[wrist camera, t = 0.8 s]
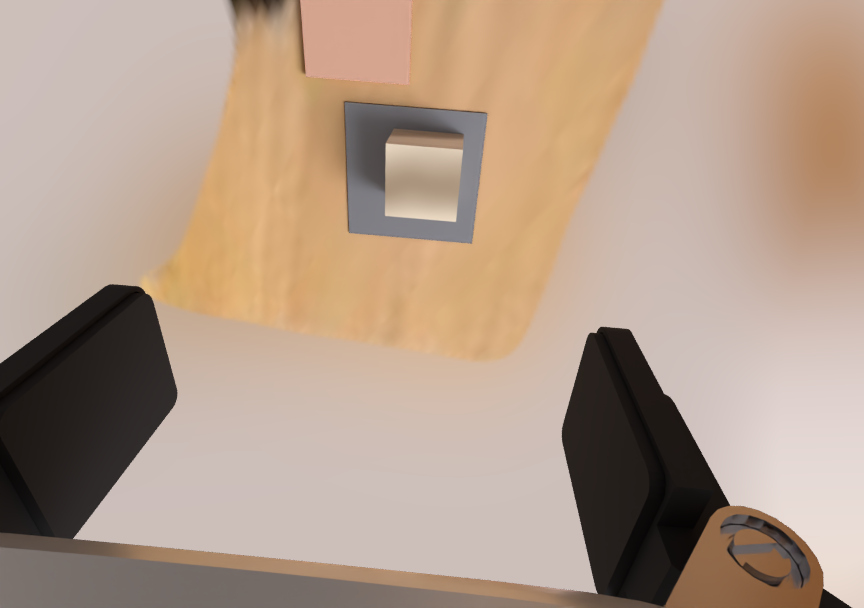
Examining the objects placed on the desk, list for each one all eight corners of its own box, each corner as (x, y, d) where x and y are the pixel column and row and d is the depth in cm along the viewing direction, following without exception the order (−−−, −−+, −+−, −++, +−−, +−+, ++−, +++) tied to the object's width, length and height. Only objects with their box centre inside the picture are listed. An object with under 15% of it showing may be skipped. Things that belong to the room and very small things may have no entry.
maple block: (394, 128, 34) (385, 143, 31) (463, 134, 34) (462, 149, 31) (392, 195, 37) (385, 215, 34) (457, 200, 37) (455, 221, 34)
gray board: (344, 101, 34) (344, 102, 34) (487, 113, 33) (487, 113, 33) (349, 232, 39) (349, 233, 39) (471, 243, 39) (471, 243, 39)
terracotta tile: (298, -52, 29) (296, -52, 29) (414, -43, 29) (413, -44, 28) (308, 75, 33) (305, 76, 32) (409, 83, 33) (408, 84, 32)
